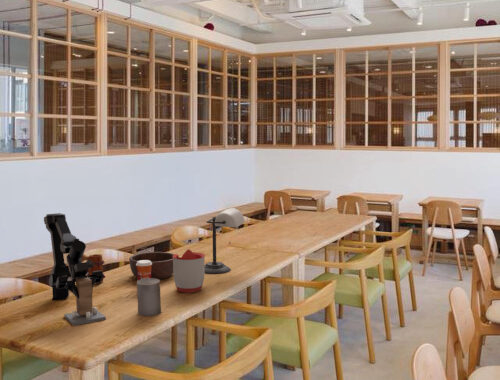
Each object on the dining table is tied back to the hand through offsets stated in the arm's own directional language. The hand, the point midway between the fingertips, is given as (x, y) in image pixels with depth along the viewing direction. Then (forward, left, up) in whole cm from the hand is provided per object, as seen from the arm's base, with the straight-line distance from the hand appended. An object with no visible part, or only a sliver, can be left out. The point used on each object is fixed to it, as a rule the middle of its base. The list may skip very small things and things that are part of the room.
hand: (85, 296), depth 232 cm
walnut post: (-1, +1, -7) cm, 7 cm away
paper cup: (+21, +40, -10) cm, 46 cm away
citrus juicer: (+42, +38, -10) cm, 58 cm away
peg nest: (-1, +1, -9) cm, 9 cm away
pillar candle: (+25, +5, -10) cm, 28 cm away
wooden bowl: (+24, +67, -10) cm, 72 cm away
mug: (-7, +57, -10) cm, 58 cm away
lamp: (+60, +73, -10) cm, 95 cm away
